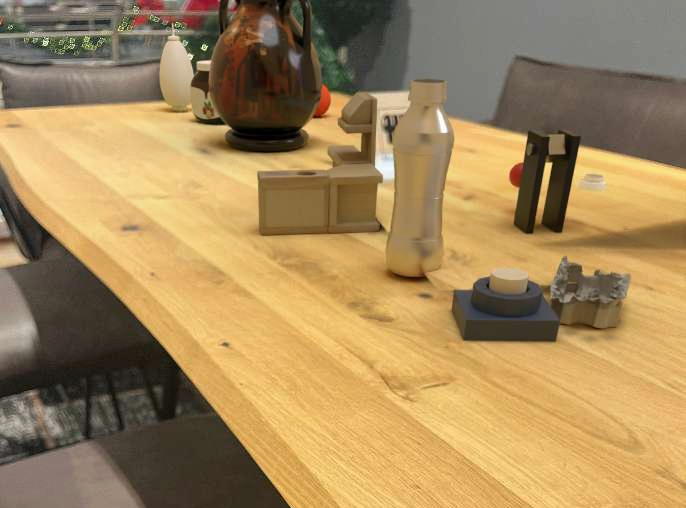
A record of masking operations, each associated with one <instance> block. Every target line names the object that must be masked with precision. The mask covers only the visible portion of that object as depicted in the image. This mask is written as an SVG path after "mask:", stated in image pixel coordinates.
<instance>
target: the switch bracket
mask: <svg viewBox="0 0 686 508" xmlns="http://www.w3.org/2000/svg"><path fill="white" fill-rule="evenodd" d="M557 134H564V137H565V155H564V156H562V157H561V158H560V159H559V160H558V161H556V162H555V163H551V168H550V173H549V178H548V184H547V190H546V195H545V201H544V205H543V211H542V217H541V225H543V226H544V227H545V228H547V229H548V230H550V231H551V232H553V233H554V234H562V233H563V229H564V225H565V218H566V216H567V215H566V214H567V210H568V209H567V208H568V204H569V199H570V195H571V189H572V185H573V179H574V173H575V168H576V164H577V159H578V155H579V149H580V144H581V138H582V135H579V134H578V133H575V132H573V131H570V130H567V129H558V130H557ZM547 135H548V134H545V133H543V132H540V131H538V130H536V129H529V130H528V131H527V137H526V144H525V151H524V155H523V168H522V174H521V180H520V186H519V188H518V193H517V199H516V205H515V210H514V211H515V212H514V217H513V226H514V227H516V228H517V229H519V230H520V231H521V232H522V233H523V234H525V235H533V234H534V232H535V231H534V230H535V224H536V219H537V215H538V214H537V213H538V208H539V202H540V197H541V190H542V184H543V180H544V173H545V169H546V164H547V163H546V157H547V151H548V146H549V140H550V137H549V136H547Z"/></svg>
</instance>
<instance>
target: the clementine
mask: <svg viewBox="0 0 686 508" xmlns="http://www.w3.org/2000/svg"><path fill="white" fill-rule="evenodd" d="M331 101H332V97H331V89H330V87H329V85H327V84H326V83H322V97H321V100H320V103H319V106H318V108H317V110H316V112H315V114H314V115H313V117H314V118H319V117H321V116H323V115H325V114H327V112H328V110H329V109H330V107H331V103H332V102H331ZM313 117H312V118H313Z"/></svg>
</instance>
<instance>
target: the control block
mask: <svg viewBox="0 0 686 508" xmlns="http://www.w3.org/2000/svg"><path fill="white" fill-rule="evenodd" d="M490 277H491V275H489V276H485V277H479V278H478V279H477V280H476V281H475V282H473V283H472V289H454V290H453V294H452V302H451V312H452V315H453V317H454V321H455V323H456V325H457V327H458V330H459V333H460V335H461V338H462V340H463V341H464V342H465V341H467V342H469V341H470V342H537V343H539V342H544V343H545V342H547V343H548V342H550V343H552V342H554V343H555V342H557V337H558V333H559V328H560V324H561V323H560V320H559V318H558V317H557V315H556V314H555V312H554V311H553V309H552V308H551V304H550V303H549V302H548V300H547V299H546V297H545V295H544V294H543V293H544V290H543V288H542V287H541V286H540V284H538V283H536V282H535V281H533V280H530V279H528V284H527V289H526V293H523V294H518V295H506V294H501V293H496V292H494V291H492V290H490V289H489V283H490Z"/></svg>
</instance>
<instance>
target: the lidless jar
mask: <svg viewBox="0 0 686 508" xmlns="http://www.w3.org/2000/svg"><path fill="white" fill-rule="evenodd" d="M607 186H608V185H607V182H606V180H605V175H603V174H600V173H584V175H583V178H582V179H580V180H579V181H578V183H577V184H576V188H577V189H580V190H583V191H589V192H604V191H607V190H608V187H607Z"/></svg>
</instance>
